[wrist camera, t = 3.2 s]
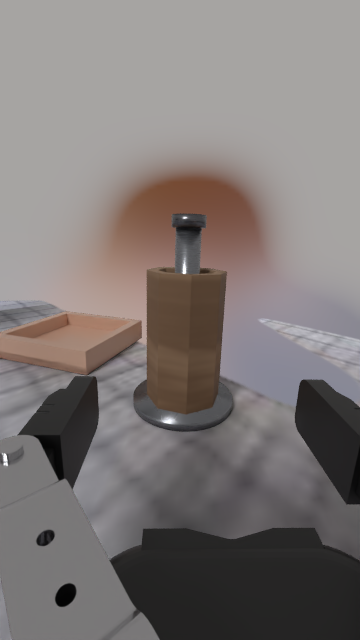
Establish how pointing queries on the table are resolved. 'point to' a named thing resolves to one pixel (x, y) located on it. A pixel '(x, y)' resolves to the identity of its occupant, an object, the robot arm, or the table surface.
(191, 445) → the table surface
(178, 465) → the table surface
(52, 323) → the tray
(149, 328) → the octagonal pencil holder
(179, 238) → the paper towel holder
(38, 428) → the robot arm
